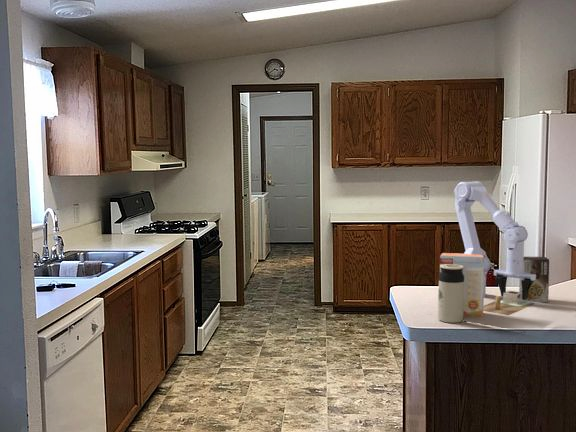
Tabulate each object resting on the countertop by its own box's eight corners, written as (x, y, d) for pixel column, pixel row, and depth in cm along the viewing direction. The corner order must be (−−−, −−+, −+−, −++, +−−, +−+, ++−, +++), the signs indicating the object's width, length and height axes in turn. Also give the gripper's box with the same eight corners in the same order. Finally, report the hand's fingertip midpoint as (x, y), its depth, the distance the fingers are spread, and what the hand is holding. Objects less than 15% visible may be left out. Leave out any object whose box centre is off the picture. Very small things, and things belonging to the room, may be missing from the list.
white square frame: (503, 302, 221) (503, 292, 221) (509, 299, 225) (509, 290, 225) (517, 304, 218) (517, 294, 217) (523, 302, 221) (523, 292, 221)
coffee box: (543, 298, 233) (544, 256, 231) (548, 302, 226) (550, 259, 225) (518, 298, 233) (519, 256, 232) (522, 302, 227) (524, 258, 226)
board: (474, 312, 213) (475, 296, 212) (502, 300, 229) (503, 286, 229) (508, 318, 205) (509, 301, 204) (535, 306, 221) (535, 291, 220)
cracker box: (483, 315, 208) (485, 254, 206) (482, 319, 203) (483, 256, 201) (441, 311, 213) (442, 251, 211) (438, 316, 208) (439, 254, 206)
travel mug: (462, 317, 205) (463, 264, 203) (463, 324, 197) (465, 268, 196) (437, 316, 207) (438, 263, 205) (438, 322, 199) (439, 267, 197)
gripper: (490, 259, 222) (489, 296, 223) (530, 263, 212) (529, 302, 214) (499, 256, 227) (497, 293, 229) (538, 261, 217) (537, 299, 219)
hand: (513, 297), depth 221 cm, fingers open, 7 cm apart
